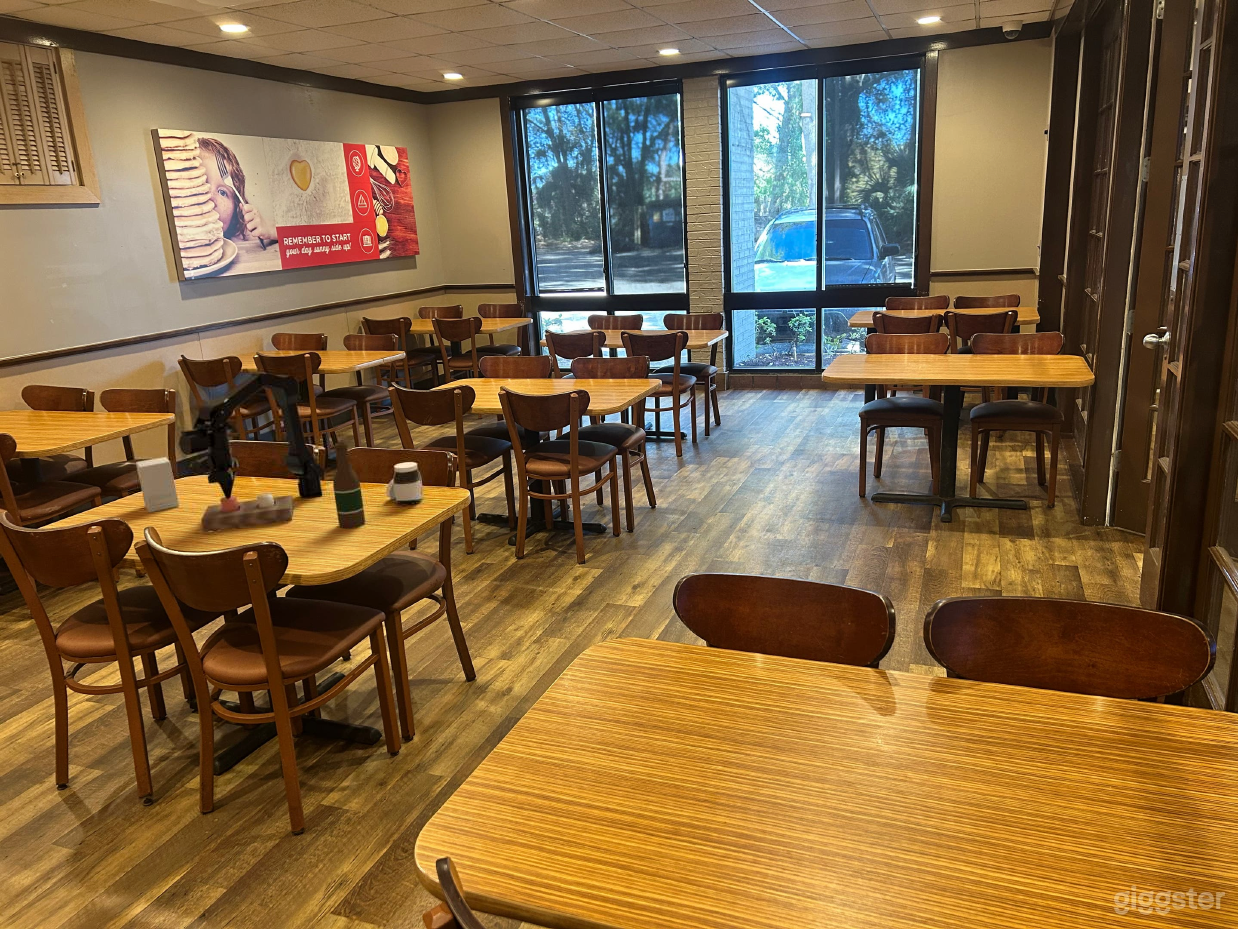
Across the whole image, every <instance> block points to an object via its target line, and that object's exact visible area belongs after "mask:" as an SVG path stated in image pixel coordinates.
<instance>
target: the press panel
mask: <svg viewBox="0 0 1238 929" xmlns="http://www.w3.org/2000/svg"><path fill="white" fill-rule="evenodd" d="M273 500H274V506H270V507H263V508H259V507H258V501H257V499H253V500H245V501H237V504H238V509H239V511H233V512H225V513H223V512H222V507H221V504H214V505H208V506H207V508H206V509H205V511H204V513H203V516H202V517H201V519H200V520H201V525H202V532H203V533H204V532H207V533H210V532H209V531H214V532H219V531H218V530H221V531H226V529H229V530H234V529H233V528H236V529H241V528H242V527H243V528H248V527H249V526H250V527H256V526H255V525H258V526H263V525H264V526H265V525H270V524H278V522H279V523H285V522H284V521H287V522H291V521H293V516H294V511H293V510H294V509H295V507H294V506H295V505H294V499H293V495H292V494H291V495H284V496H275V497H274V496H273ZM250 527H249V528H250Z"/></svg>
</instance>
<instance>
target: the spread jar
mask: <svg viewBox="0 0 1238 929" xmlns="http://www.w3.org/2000/svg"><path fill="white" fill-rule="evenodd" d="M393 467H394V475H393V478H392V479H391V480H390V482H389V483H388V485H387V487H386V489H385V490H386V491H385V495H386V496H387V498H389V499H391V500H395V501H396V503H397V504H399V505H402V504H411V505H414V504H413V503H416V504H418V502H419V503H421V501H422V500H423V496H424V495H423V494H424V491H423V484H422V483H423V482H422V481H423V480H422V476H421V472H420V471H419V469H418V463H416V462H414V461H413V462H412V461H408V462H401V463H397V464H395V465H394V466H393ZM395 498H396V499H395Z"/></svg>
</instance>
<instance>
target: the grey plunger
mask: <svg viewBox="0 0 1238 929" xmlns="http://www.w3.org/2000/svg"><path fill="white" fill-rule="evenodd" d="M273 494H274V493H273ZM273 494H272V493H262V494H259V495H257V496H256V498H257V499H256V500H257V501H258V507H259V508H263V507H270V506H274V500H273V498H274V495H273Z"/></svg>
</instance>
